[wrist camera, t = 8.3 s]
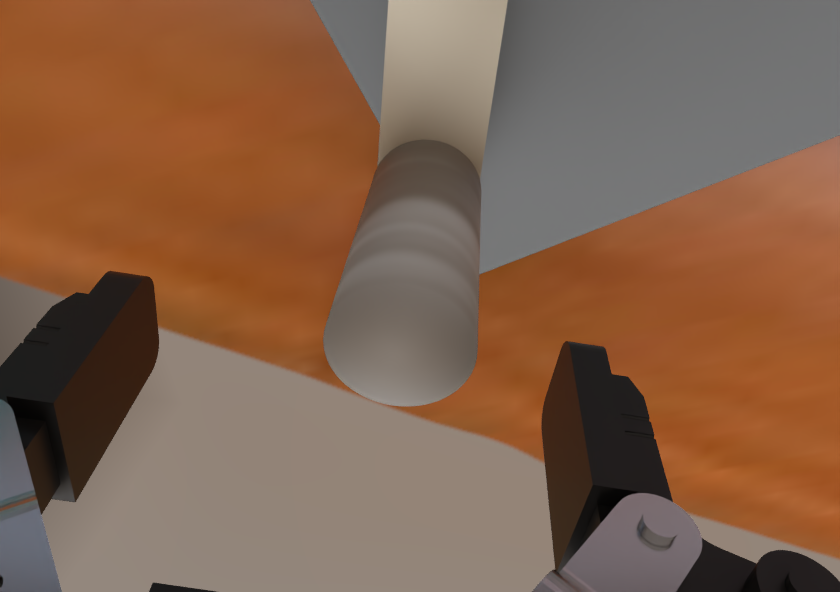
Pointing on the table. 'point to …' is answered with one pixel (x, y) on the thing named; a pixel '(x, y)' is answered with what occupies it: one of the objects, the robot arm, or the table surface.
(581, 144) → the board
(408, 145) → the lever
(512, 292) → the table surface
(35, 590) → the robot arm
